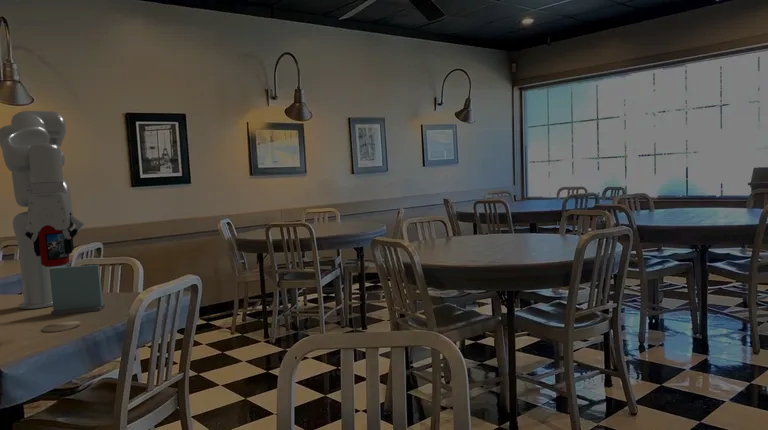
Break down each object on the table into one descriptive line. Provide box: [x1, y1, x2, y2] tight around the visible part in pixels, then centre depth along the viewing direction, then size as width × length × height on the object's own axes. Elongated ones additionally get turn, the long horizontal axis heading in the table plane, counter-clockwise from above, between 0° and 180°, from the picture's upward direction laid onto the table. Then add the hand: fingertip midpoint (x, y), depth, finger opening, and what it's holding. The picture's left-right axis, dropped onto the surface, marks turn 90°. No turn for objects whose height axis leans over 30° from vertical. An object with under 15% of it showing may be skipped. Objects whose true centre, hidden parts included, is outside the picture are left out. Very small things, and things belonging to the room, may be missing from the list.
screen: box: [49, 264, 106, 316], centre depth 176 cm, size 5×14×14 cm, turn 99°
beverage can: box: [38, 225, 70, 268], centre depth 155 cm, size 7×7×12 cm
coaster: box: [42, 320, 81, 333], centre depth 156 cm, size 9×9×1 cm
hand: (54, 253), depth 155 cm, fingers closed on beverage can, 6 cm apart
